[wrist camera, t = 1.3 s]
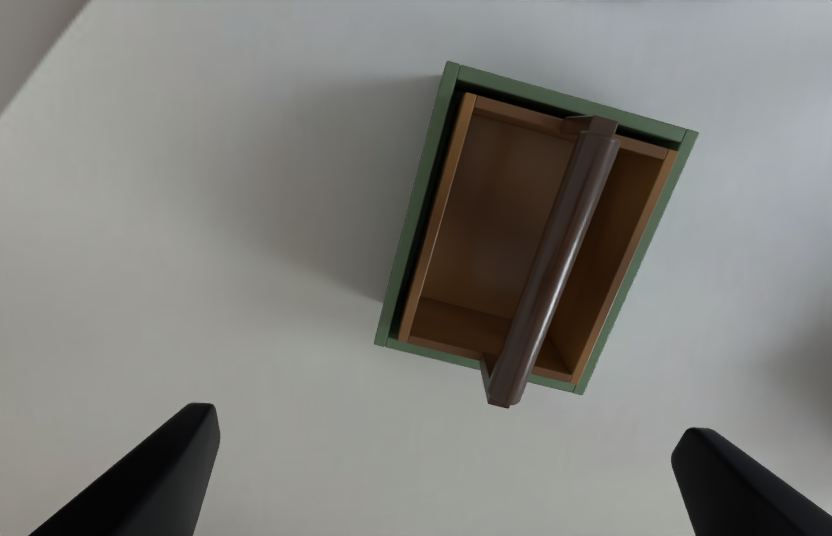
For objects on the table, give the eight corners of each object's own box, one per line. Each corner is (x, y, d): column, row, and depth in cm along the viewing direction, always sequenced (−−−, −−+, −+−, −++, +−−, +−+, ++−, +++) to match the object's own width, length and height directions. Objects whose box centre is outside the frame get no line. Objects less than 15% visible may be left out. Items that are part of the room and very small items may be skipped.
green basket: (442, 74, 20) (446, 60, 15) (642, 131, 20) (700, 132, 16) (383, 304, 23) (373, 344, 19) (554, 347, 24) (582, 395, 20)
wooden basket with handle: (457, 97, 20) (477, 78, 12) (620, 143, 20) (748, 155, 12) (402, 297, 23) (389, 390, 15) (545, 333, 23) (608, 443, 15)
